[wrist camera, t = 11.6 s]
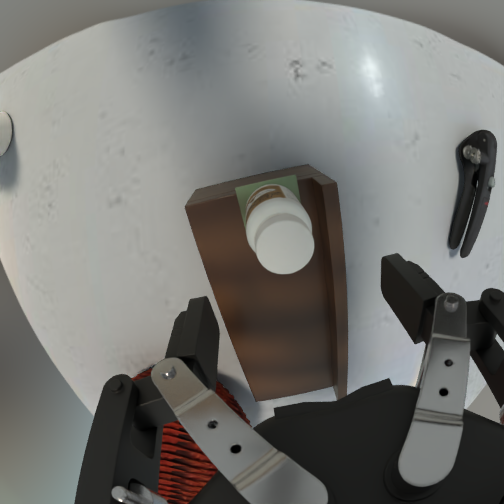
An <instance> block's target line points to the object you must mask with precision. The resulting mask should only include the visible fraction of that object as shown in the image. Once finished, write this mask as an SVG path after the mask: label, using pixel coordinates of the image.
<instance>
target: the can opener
mask: <svg viewBox="0 0 504 504" xmlns="http://www.w3.org/2000/svg"><path fill="white" fill-rule="evenodd" d="M496 153H497V141H496V138H495V136H494V135H493V134H492V133H491V132H490V131H487V130H478V131H476V132H474V133H472V134H471V135H470V136H468V137H467V138H466V139H465V140H464V141H463V142H462V143H461V145H460V147H459V155H460V158H461V161H462V164H463V167H464V173H465V183H464V188H463V193H462V197H461V200H460V203H459V207H458V210H457V213H456V216H455V220H454V223H453V227H452V232H451V237H450V248H451V249H455V248H457V247H458V246H459V244H460V241H461V239H462V236H463V233H464V230H465V228H466V225H467V222H468V218H469V215H470V212H471V208H472V205H473V208H472V213H471V217H470V220H469V224H468V228H467V231H466V234H465V238H464V241H463V244H462V247H461V250H460V256H461V257H462V258H465V257H467V256H468V255H469V254H470V252H471V250H472V247H473V245H474V243H475V241H476V239H477V236H478V234H479V231H480V228H481V225H482V223H483V220H484V217H485V214H486V210H487V207H488V203H489V199H490V194H491V189H492V187H494V186H495V179H494V172H495V164H496ZM477 180H478V186H477ZM476 189H477V190H476ZM475 193H476V194H475ZM474 197H475V199H474ZM473 201H474V204H473Z"/></svg>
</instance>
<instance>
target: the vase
mask: <svg viewBox="0 0 504 504" xmlns="http://www.w3.org/2000/svg"><path fill="white" fill-rule="evenodd" d="M152 369H153V368H150V369H148V370H147V371H144V372H143V373H141V374H138V375H137V376H136V377H134V378H131V379H132V380H133V381H136V380H139V379H142V378H144V377H147V376H150V375H151V371H152ZM215 393H216V394H217V395H218V396H219V397H220V398H221V399H222V400H223V401H224V402H225V403H226V404H227V405H228V406H229V407H230V408H231V409H232V410H233V411H234V412H235V413H236V414H237V415H238V416H239V417H240V418H241V419H243V420H244V421H245V422H246V423H247V424H248V425H249V426H250V427H251V428H252V426H251V425H250V424H249V423H250V421H249V420H248V419H247V418H246V414H245V413H244V412H243V410H242V408H241V407H240V406H239V404H238V403H237V401H236V400H234V396H233V395H231V394H230V393H229V391H228V389H226V388H224V387H223V384H221V383H219V382H218V381H216V392H215ZM217 471H218V468H217V467H216V466H215V465H214V464H213V463H212V462H211V460H210V459H209V458H208V457H207V456H206V455H205V453H204V452H203V451H202V450H201V449H200V447H199V446H198V445H197V444H196V442H195V441H194V440H193V439H192V437H191V436H190V435H189V434H188V432H187V431H186V430H185V428H184V427H183V426H182V424H181V423H180V422H179V420H177V421H174V422H171V423H168V424H165V425H164V426H163V436H162V446H161V457H160V469H159V483H158V494H160V495H161V496H163V497H164V498H165V499H166V501H167V503H168V504H188V503H189V502H190V501H191V500H192V499H193V498H194V497H195V496H196V495H197V493H198V492H199V491H200V490H201V489H202V488H203V487H204V486H205V485H206V483H207V482H208V481H209V480H210V479H211V478H212V477H213V475H214V474H215V473H216V472H217Z"/></svg>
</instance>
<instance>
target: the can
mask: <svg viewBox="0 0 504 504" xmlns="http://www.w3.org/2000/svg"><path fill="white" fill-rule="evenodd" d="M11 138H12V123H11V119H10V117H9V116H8V114H7V113H6V112H3V111H0V156H1V155H3V154H4V153H5V151H6V150H7V148H8V146H9V144H10V141H11Z"/></svg>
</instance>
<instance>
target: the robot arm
mask: <svg viewBox="0 0 504 504" xmlns="http://www.w3.org/2000/svg"><path fill="white" fill-rule="evenodd" d="M381 291H382V294H383V297H384V298H385V300H386V301H387V303H388V304H389V306H390V307H391V309H392V310H393V312H394V313H395V315H396V316H397V318H398V319H399V321H400V322H401V324H402V325H403V327H404V328H405V330H406V331H407V333H408V334H409V336H410V337H411V339H412V340H413V342H414V344H417V343H420V342H423V341H424V342H425V344H426V345H425V349H424V354H423V358H422V363H421V367H420V371H419V375H418V379H417V383H416V386H415V387H413V386H407V385H392V383H391V381H390V379H389V378H388V379H385V380H382V381H379V382H376V383H373V384H370V385H367V386H364V387H361V388H360V389H358V390H356V391H354V392H352V393H351V394H349V395H347V396H345V397H343V398H341V399H339V400H337V401H332V402H302V403H297V404H292V405H287V406H282V407H276V408H274V413H275V416H273V417H271V418H269V419H267V420H265V421H263V422H261V423H260V424H258V425H257V426H256V427H254V428H253V429H252V428H251V427H250V426H249V425H248V424H247V423H246V422H245V421H244V420H243V419H241V418H240V417H239V416H238V415H237V414H236V413H235V412H234V411H233V410H232V409H231V408H230V407H229V406H228V405H227V404H226V403H225V402H224V401H223V400H222V399H221V398H220V397H219V396H218V395H217V394H216V393H215V392H216V379H217V364H218V350H219V337H220V333H219V326H218V323H217V320H216V317H215V315H214V312H213V310H212V307H211V304H210V302H209V299H208V298H207V296H204V297H199V298H194V299H190V301H189V305H188V309H187V311H183V312H181V313H180V314H179V316H178V317H177V318H176V319H175V322H174V326H173V330H172V333H171V337H170V340H169V344H168V348H167V352H166V356H165V359H164V360H162V361H160V362H158V363H157V364H156V365H155V366H154V368H153V369H152V371H151V375H150V376H147V377H144V378H142V379H139V380H136V381H133V380H132V379H131V378H130V377H129V376H128V375H125V374H119V375H116V376H113V377H112V378H110V379H109V380H108V381H107V382H106V383H105V385H104V387H103V390H102V393H101V396H100V399H99V403H98V406H97V409H96V413H95V416H94V420H93V423H92V427H91V431H90V434H89V438H88V442H87V446H86V450H85V454H84V458H83V463H82V467H81V472H80V477H79V481H78V486H77V492H76V498H75V504H168V503H167V501H166V499H165V498H164V497H163V496H161V495H160V494H158V483H159V469H160V457H161V446H162V436H163V426H164V425H165V424H168V423H171V422H174V421H177V420H179V422H180V423H181V424H182V426H183V427H184V428H185V430H186V431H187V432H188V434H189V435H190V436H191V437H192V439H193V440H194V441H195V442H196V444H197V445H198V446H199V447H200V449H201V450H202V451H203V452H204V453H205V455H206V456H207V457H208V458H209V459H210V460H211V462H212V463H213V464H214V465H215V466H216V467H217V468H218V471H217V472H216V473H215V474H214V475H213V477H212V478H211V479H210V480H209V481H208V482H207V483H206V485H205V486H204V487H203V488H202V489H201V490H200V491H199V492H198V493H197V495H196V496H195V497H194V498H193V499H192V500H191V501H190V502H189V503H188V504H504V350H503V349H502V347H501V346H500V345H499V343H498V342H497V341H496V339H495V337H496V335H497V334H498V335H499V337H500V338H501V339H502V341H503V342H504V292H502V291H500V290H498V289H494V288H489V289H486V290H484V291H483V292H482V294H481V298H480V300H477V301H468V302H466V301H465V299H464V298H463V297H462V296H460V295H458V294H455V293H445V292H444V291H443V290H442V289H441V288H440V287H439V285H438V284H437V283H436V282H435V281H434V280H433V279H432V278H431V277H429V275H428V274H427V273H426V272H424V270H423V269H422V268H421V267H420V266H419V265H417V264H415V263H413V262H411V261H407V262H406V261H405V260H404V259H403V258H402V257H401V256H400V255H399V254H398V253H395V254H391V255H388V256H384V257H382V260H381ZM470 356H471V357H472V359H473V360H474V362H475V364H476V365H477V367H478V369H479V370H480V372H481V374H482V375H483V377H484V379H485V380H486V382H487V384H488V386H489V387H490V389H491V391H492V393H493V395H494V396H495V399H496V400H497V402H498V404H499V406H500V408H501V410H500V423H497V422H494V421H492V420H489V419H487V418H485V417H482V416H480V415H478V414H475V413H473V412H470V411H468V410H466V409H464V404H465V398H466V390H467V382H468V372H469V360H470Z"/></svg>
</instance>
